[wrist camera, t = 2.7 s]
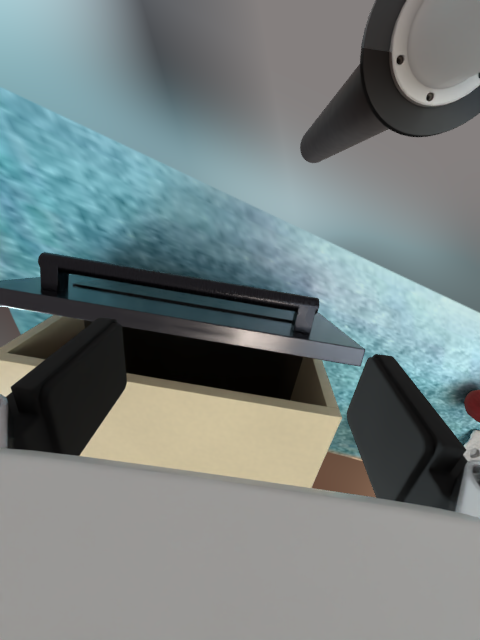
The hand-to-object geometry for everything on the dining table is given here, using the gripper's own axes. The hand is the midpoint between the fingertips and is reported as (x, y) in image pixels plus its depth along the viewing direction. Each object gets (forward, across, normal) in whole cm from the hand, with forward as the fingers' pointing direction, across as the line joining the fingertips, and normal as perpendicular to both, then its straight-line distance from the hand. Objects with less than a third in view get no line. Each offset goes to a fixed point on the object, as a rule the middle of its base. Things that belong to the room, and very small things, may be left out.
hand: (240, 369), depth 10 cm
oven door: (+34, +7, +9) cm, 36 cm away
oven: (+34, +7, +23) cm, 42 cm away
